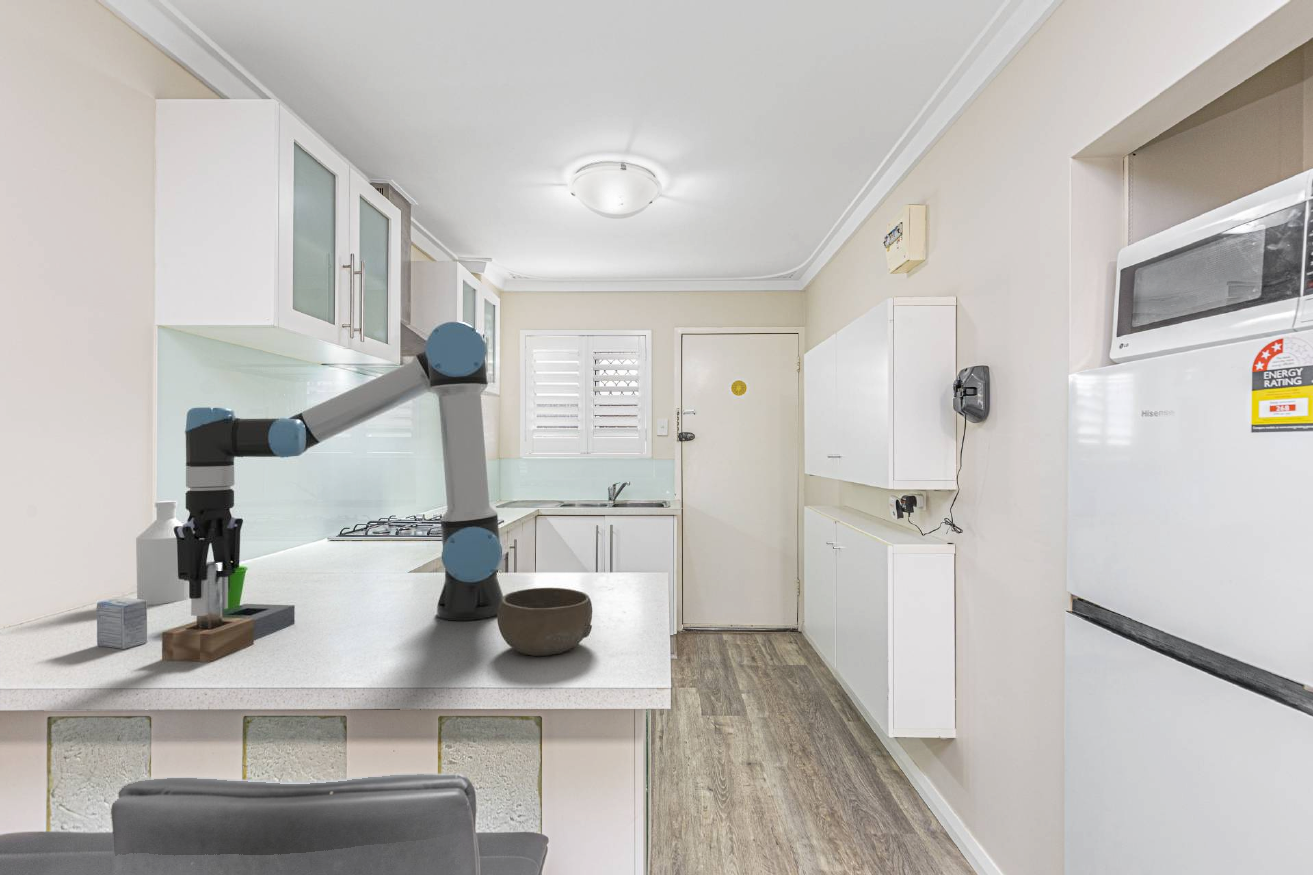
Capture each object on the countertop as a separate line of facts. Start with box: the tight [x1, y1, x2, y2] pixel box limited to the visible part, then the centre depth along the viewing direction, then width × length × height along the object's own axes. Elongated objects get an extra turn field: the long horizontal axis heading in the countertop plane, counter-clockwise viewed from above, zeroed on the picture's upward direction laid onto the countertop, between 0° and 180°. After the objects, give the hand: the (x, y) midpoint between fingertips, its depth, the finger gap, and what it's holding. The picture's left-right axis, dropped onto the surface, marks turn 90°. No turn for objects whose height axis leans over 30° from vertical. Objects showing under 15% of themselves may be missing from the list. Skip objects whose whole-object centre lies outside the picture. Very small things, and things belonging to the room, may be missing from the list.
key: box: [196, 560, 231, 630], centre depth 118 cm, size 4×8×15 cm, turn 83°
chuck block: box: [222, 603, 296, 641], centre depth 131 cm, size 12×12×4 cm
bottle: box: [135, 500, 190, 606], centre depth 159 cm, size 12×12×25 cm
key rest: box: [161, 618, 255, 663], centre depth 118 cm, size 10×10×5 cm
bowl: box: [496, 587, 593, 657], centre depth 119 cm, size 17×18×10 cm
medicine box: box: [96, 596, 148, 650], centre depth 122 cm, size 8×4×9 cm, turn 71°
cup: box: [222, 565, 249, 611], centre depth 141 cm, size 9×9×11 cm
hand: (210, 611), depth 118 cm, fingers closed on key, 4 cm apart
